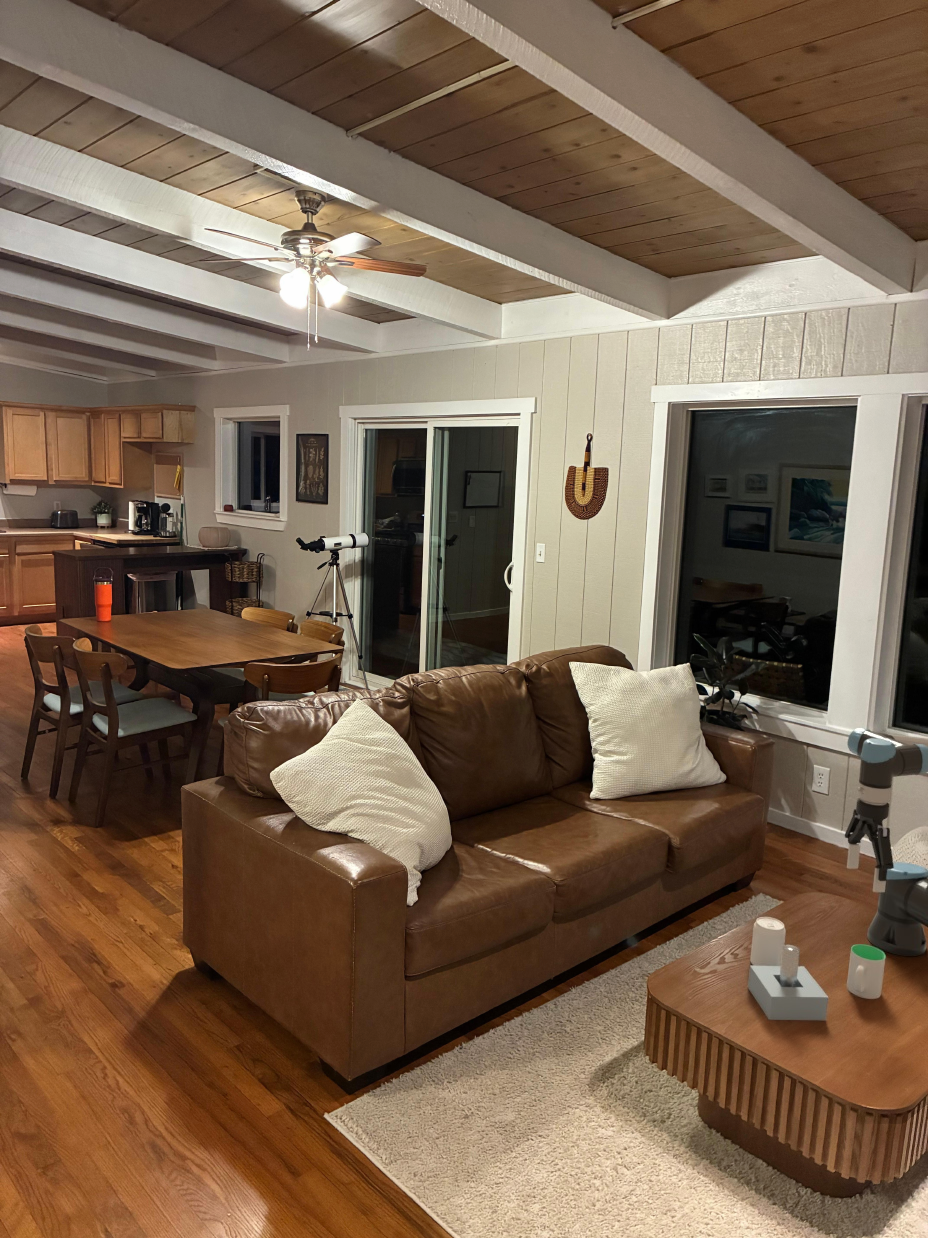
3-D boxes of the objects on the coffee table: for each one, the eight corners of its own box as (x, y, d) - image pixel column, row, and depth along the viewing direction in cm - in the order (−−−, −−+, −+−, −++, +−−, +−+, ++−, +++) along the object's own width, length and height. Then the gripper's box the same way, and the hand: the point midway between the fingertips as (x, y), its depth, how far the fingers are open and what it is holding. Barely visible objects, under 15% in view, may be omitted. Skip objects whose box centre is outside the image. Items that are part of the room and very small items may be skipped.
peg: (790, 997, 227) (795, 945, 225) (796, 1006, 223) (802, 953, 221) (774, 997, 227) (780, 944, 225) (781, 1006, 223) (786, 953, 221)
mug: (874, 1010, 224) (879, 970, 222) (840, 998, 228) (844, 959, 227) (883, 989, 234) (888, 951, 232) (850, 978, 238) (854, 941, 237)
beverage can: (777, 959, 246) (782, 917, 245) (785, 974, 238) (789, 932, 237) (747, 956, 247) (751, 914, 245) (753, 971, 239) (757, 929, 237)
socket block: (801, 988, 232) (803, 966, 231) (825, 1020, 218) (828, 997, 218) (747, 987, 231) (750, 965, 230) (768, 1020, 218) (771, 996, 217)
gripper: (836, 783, 241) (828, 859, 244) (884, 818, 217) (875, 902, 220) (863, 783, 242) (855, 859, 245) (914, 819, 217) (905, 902, 220)
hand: (865, 879), depth 232 cm, fingers open, 13 cm apart
